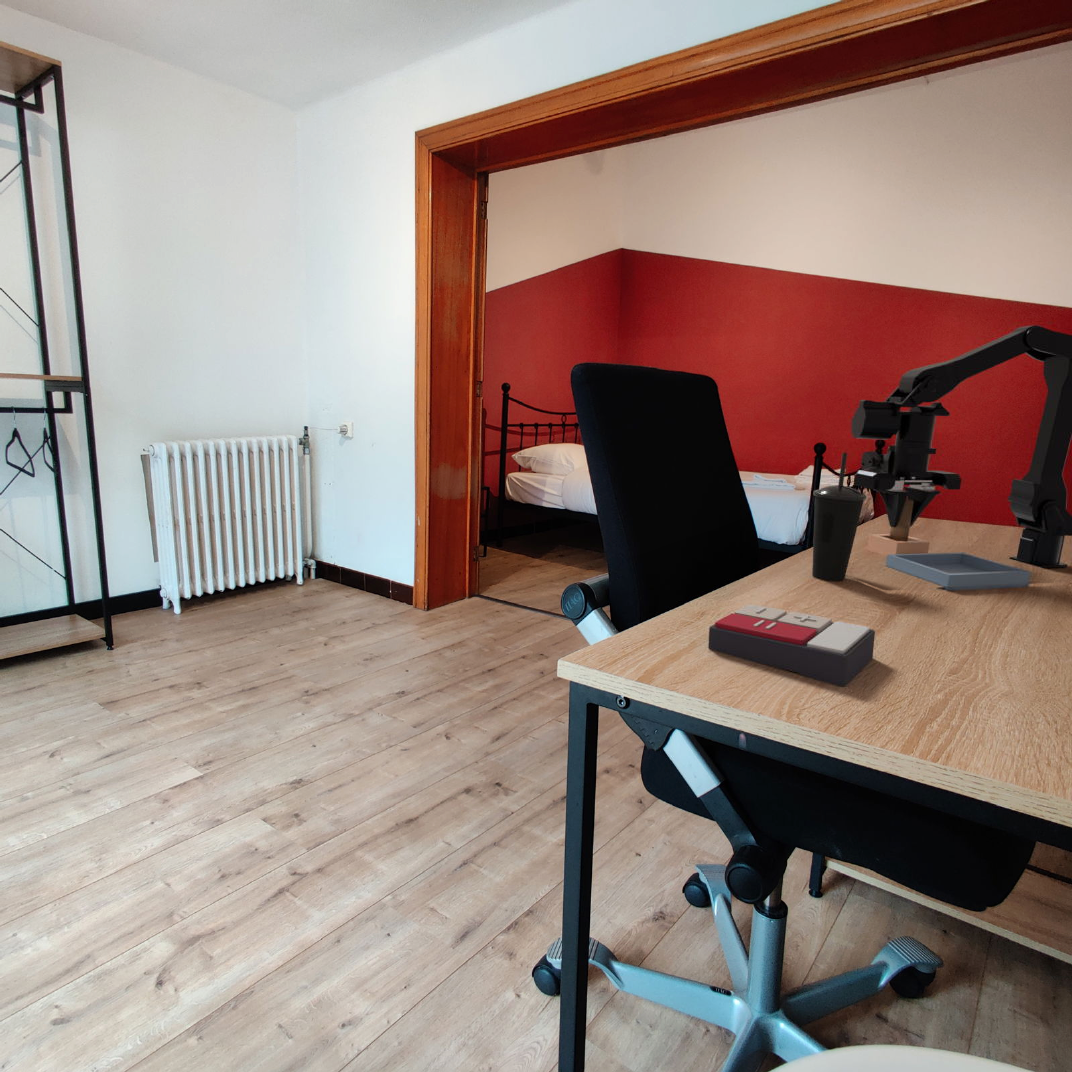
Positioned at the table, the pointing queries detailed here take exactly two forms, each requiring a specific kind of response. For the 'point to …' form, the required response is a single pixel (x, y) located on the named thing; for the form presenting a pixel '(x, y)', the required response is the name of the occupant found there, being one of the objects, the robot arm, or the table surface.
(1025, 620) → the table surface
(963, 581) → the slate tray
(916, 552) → the terracotta socket
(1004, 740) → the table surface
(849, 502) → the drinking cup
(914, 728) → the table surface
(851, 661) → the calculator
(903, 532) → the walnut dowel
